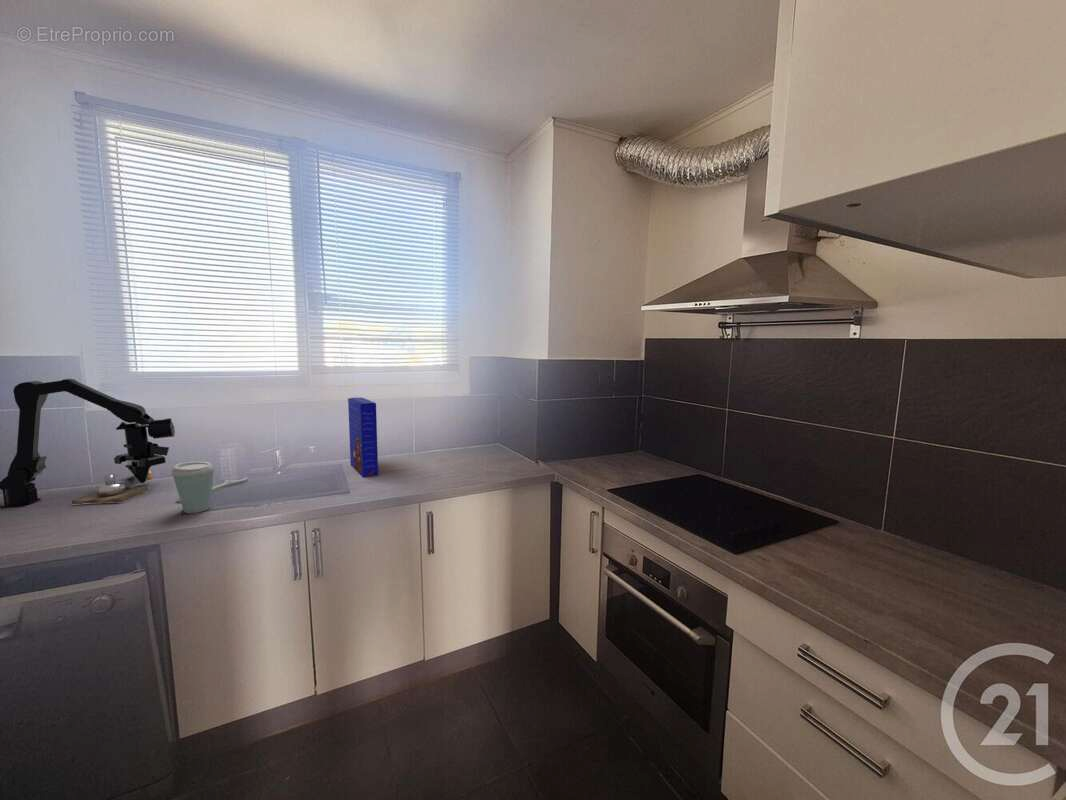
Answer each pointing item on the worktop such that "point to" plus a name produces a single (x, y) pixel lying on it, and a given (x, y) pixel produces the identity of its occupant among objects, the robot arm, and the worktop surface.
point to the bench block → (110, 496)
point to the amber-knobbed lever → (118, 484)
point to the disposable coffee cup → (194, 485)
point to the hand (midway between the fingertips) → (143, 482)
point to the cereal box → (363, 436)
